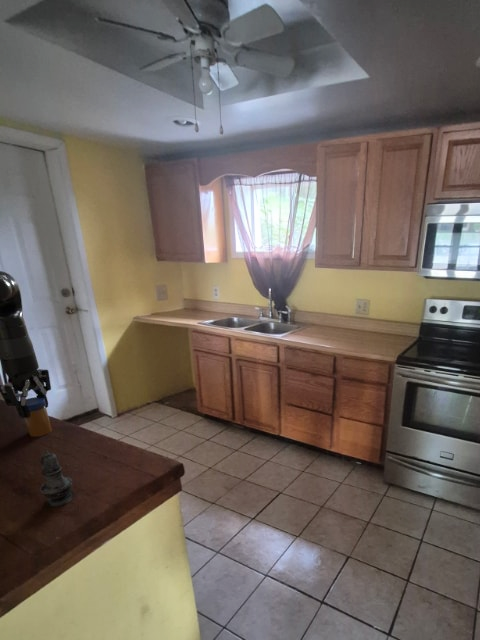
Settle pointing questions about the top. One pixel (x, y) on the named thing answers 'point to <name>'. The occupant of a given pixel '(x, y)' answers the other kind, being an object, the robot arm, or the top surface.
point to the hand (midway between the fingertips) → (34, 412)
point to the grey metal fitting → (55, 482)
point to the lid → (35, 403)
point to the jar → (38, 423)
